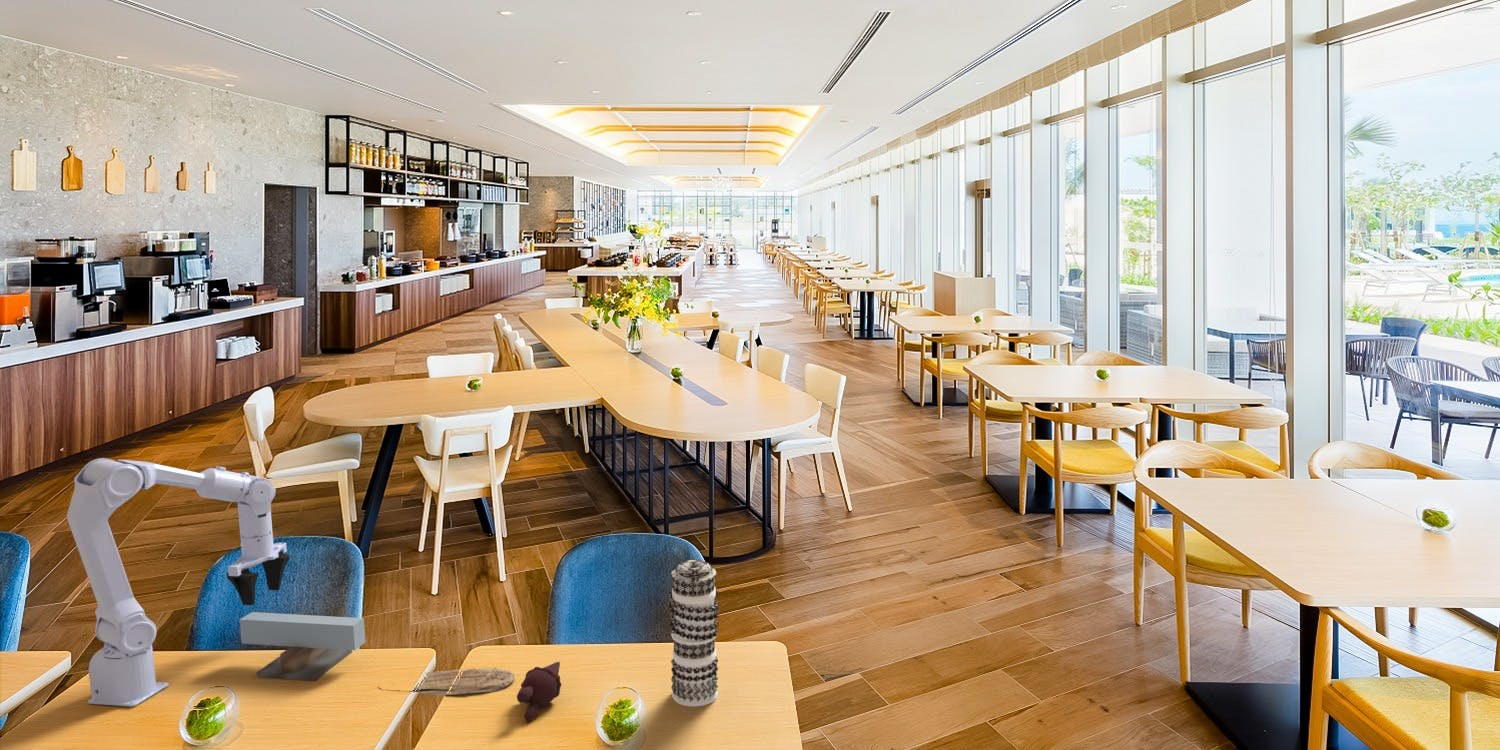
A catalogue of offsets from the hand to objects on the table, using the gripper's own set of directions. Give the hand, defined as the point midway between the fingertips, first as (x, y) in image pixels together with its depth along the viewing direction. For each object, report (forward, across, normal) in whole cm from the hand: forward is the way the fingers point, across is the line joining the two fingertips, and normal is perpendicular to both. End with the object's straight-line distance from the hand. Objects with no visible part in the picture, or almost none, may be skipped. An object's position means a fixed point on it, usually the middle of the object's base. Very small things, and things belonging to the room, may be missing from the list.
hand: (261, 596), depth 173 cm
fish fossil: (+11, -10, -45) cm, 47 cm away
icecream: (+11, -15, -66) cm, 68 cm away
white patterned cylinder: (+11, -9, -93) cm, 94 cm away
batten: (+6, -7, -14) cm, 17 cm away
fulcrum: (+10, -7, -14) cm, 19 cm away
